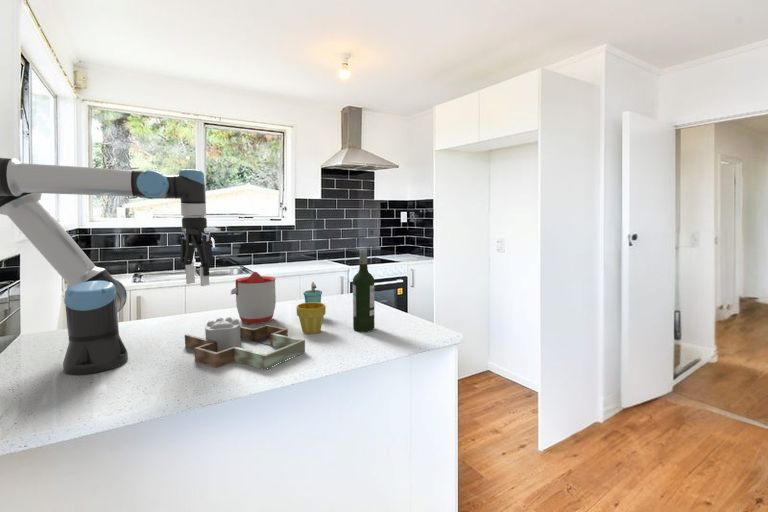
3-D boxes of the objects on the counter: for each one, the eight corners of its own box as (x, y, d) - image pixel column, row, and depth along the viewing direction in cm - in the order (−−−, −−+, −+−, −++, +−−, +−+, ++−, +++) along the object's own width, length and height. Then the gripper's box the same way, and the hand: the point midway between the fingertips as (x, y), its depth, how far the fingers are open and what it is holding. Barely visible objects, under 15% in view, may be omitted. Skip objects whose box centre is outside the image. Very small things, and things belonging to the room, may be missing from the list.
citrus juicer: (230, 318, 164) (227, 270, 162) (273, 314, 171) (272, 267, 169) (233, 328, 150) (230, 276, 148) (280, 323, 157) (278, 273, 155)
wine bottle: (377, 330, 147) (377, 249, 144) (357, 333, 144) (356, 250, 141) (370, 325, 154) (369, 247, 151) (350, 327, 151) (349, 248, 148)
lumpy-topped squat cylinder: (204, 353, 125) (202, 326, 124) (209, 340, 137) (208, 315, 136) (239, 350, 127) (238, 323, 126) (242, 337, 140) (241, 313, 139)
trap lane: (167, 352, 125) (166, 340, 124) (240, 329, 149) (240, 319, 148) (248, 377, 106) (247, 363, 106) (317, 346, 130) (317, 335, 129)
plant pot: (320, 336, 141) (319, 309, 140) (292, 334, 143) (291, 308, 142) (329, 328, 151) (329, 302, 150) (303, 326, 153) (303, 301, 152)
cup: (325, 321, 160) (325, 284, 159) (306, 322, 158) (305, 285, 156) (320, 312, 173) (319, 278, 172) (302, 314, 171) (301, 279, 169)
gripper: (223, 216, 132) (226, 285, 134) (186, 216, 142) (190, 280, 145) (202, 217, 126) (206, 289, 128) (165, 216, 136) (169, 283, 138)
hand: (197, 284), depth 136 cm, fingers open, 7 cm apart
